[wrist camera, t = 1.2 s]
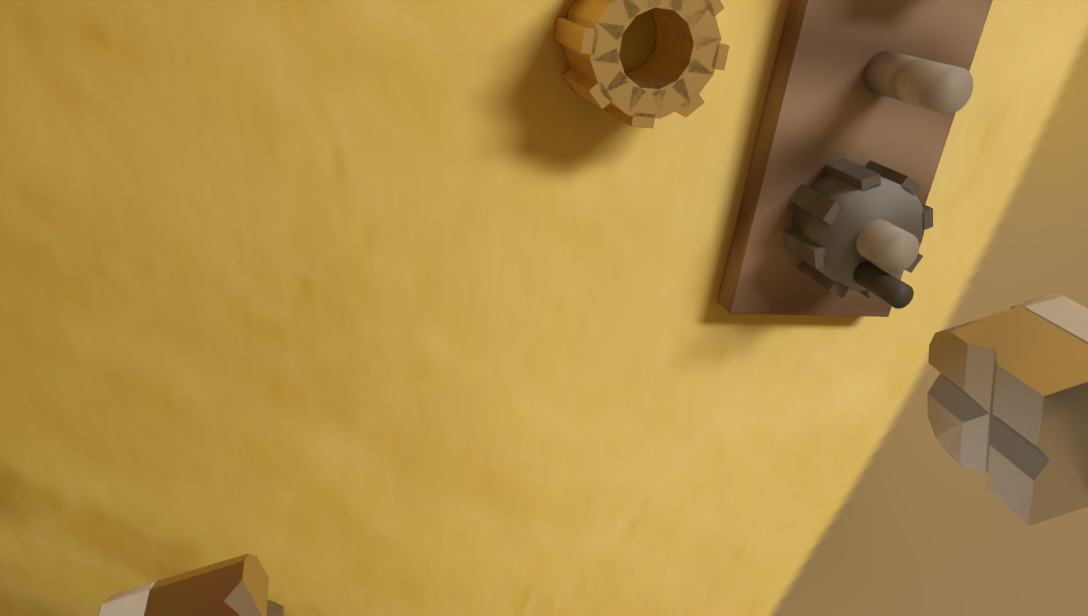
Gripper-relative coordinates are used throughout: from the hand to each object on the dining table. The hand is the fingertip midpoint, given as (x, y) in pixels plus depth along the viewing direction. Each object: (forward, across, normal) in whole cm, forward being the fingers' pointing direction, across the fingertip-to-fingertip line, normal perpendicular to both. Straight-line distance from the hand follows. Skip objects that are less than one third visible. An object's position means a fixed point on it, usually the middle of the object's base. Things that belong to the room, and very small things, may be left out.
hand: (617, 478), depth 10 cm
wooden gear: (+30, -10, +2) cm, 32 cm away
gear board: (+30, -22, +7) cm, 38 cm away
